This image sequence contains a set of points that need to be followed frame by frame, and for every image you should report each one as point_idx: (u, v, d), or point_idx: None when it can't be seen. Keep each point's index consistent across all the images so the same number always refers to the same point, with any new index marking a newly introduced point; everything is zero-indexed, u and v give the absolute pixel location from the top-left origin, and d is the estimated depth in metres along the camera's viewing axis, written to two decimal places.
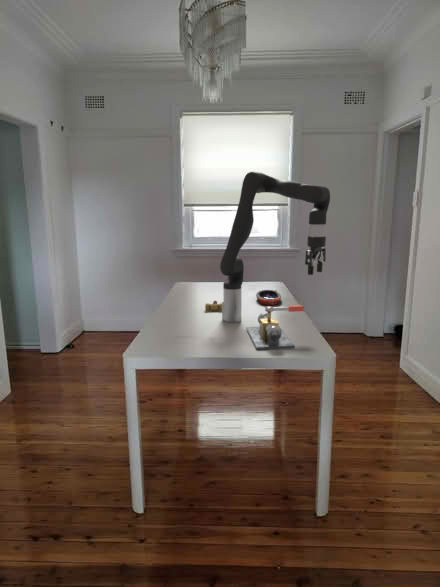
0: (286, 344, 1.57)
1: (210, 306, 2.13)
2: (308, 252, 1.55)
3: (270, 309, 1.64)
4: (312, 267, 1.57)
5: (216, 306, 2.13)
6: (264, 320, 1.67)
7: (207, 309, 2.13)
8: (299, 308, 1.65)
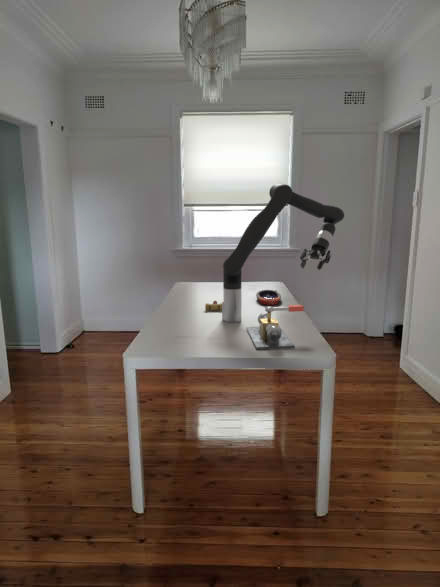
0: (286, 344, 1.57)
1: (210, 306, 2.13)
2: (330, 253, 1.78)
3: (270, 309, 1.64)
4: None
5: (216, 306, 2.13)
6: (264, 320, 1.67)
7: (207, 309, 2.13)
8: (299, 308, 1.65)
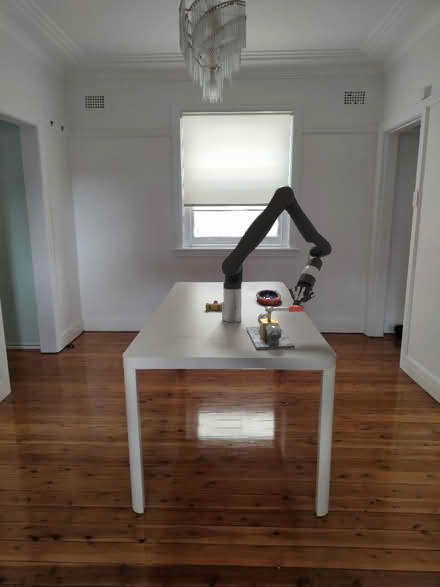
0: (286, 344, 1.57)
1: (210, 306, 2.14)
2: (313, 295, 1.68)
3: (270, 309, 1.64)
4: None
5: (216, 306, 2.14)
6: (264, 320, 1.67)
7: (207, 309, 2.14)
8: (300, 309, 1.65)
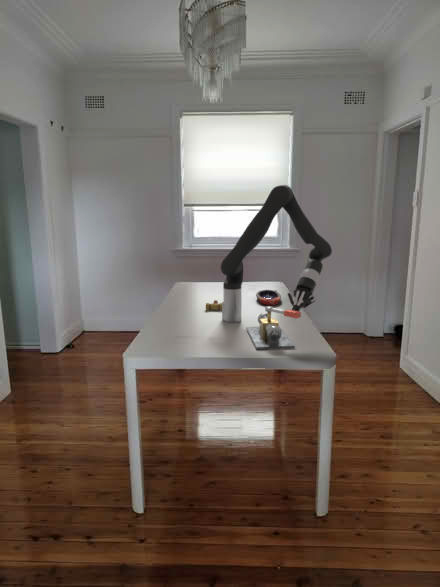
0: (286, 344, 1.57)
1: (210, 306, 2.14)
2: (313, 300, 1.59)
3: (267, 309, 1.64)
4: None
5: (216, 306, 2.14)
6: (264, 320, 1.67)
7: (207, 308, 2.14)
8: (293, 315, 1.56)
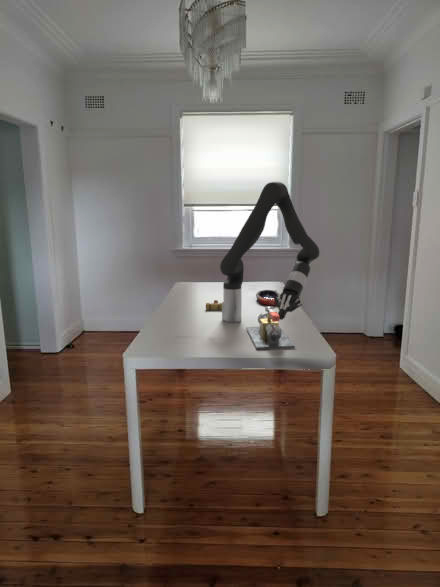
0: (286, 344, 1.57)
1: (210, 305, 2.15)
2: (299, 303, 1.54)
3: (265, 308, 1.65)
4: None
5: (216, 305, 2.15)
6: (264, 320, 1.67)
7: (207, 308, 2.15)
8: (271, 317, 1.52)
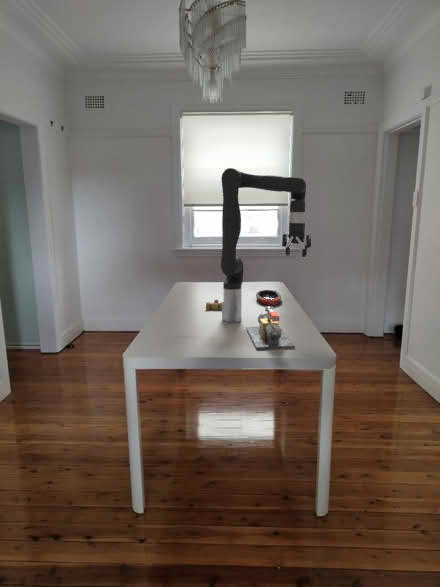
0: (286, 344, 1.57)
1: (211, 305, 2.16)
2: (309, 236, 1.75)
3: (265, 308, 1.65)
4: None
5: (216, 305, 2.15)
6: (264, 320, 1.67)
7: (208, 308, 2.15)
8: (271, 317, 1.52)
